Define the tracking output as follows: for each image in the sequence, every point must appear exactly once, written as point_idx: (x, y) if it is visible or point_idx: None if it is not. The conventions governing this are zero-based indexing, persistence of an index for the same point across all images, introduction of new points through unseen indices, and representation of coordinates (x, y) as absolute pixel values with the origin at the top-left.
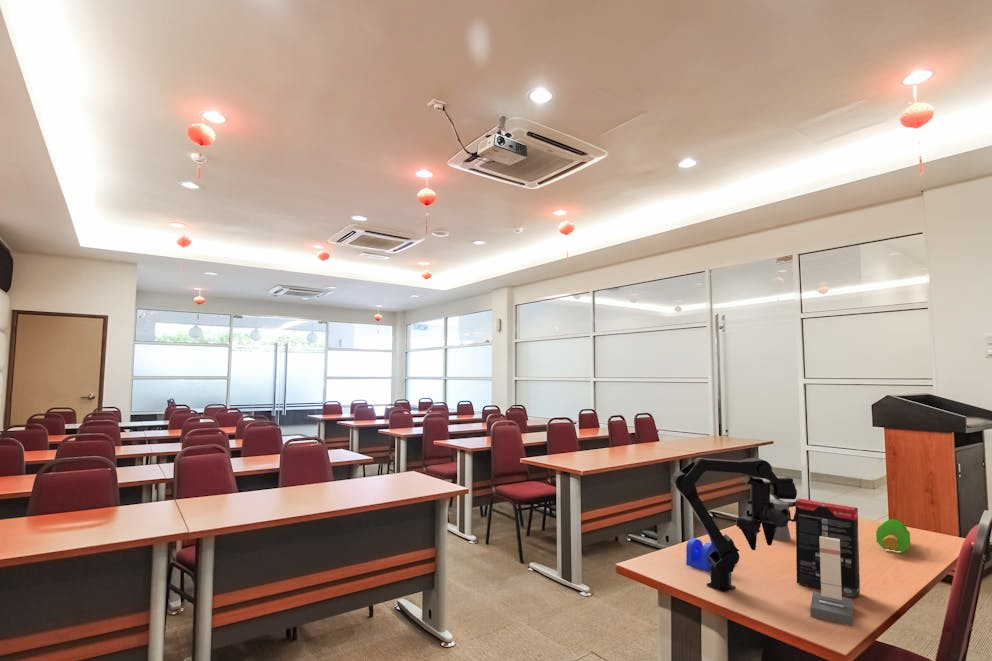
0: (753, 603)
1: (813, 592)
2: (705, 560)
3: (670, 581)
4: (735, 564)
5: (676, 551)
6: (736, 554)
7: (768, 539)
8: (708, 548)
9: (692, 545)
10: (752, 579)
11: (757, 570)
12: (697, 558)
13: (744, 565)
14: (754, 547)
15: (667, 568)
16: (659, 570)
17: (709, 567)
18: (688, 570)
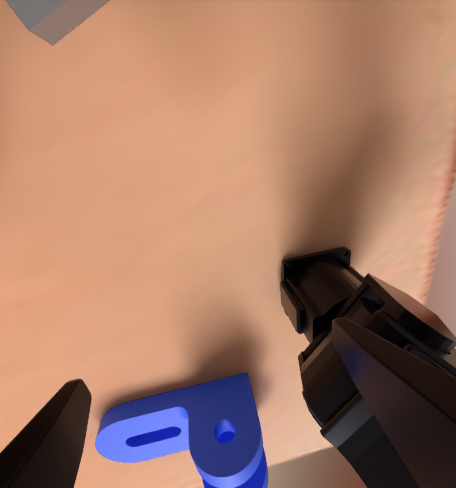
0: (347, 140)
1: (42, 13)
2: (255, 407)
3: None
4: (360, 297)
5: None
6: (408, 328)
7: (63, 450)
8: (253, 453)
9: (262, 478)
10: (153, 303)
11: (64, 356)
12: (228, 431)
13: None
14: (368, 330)
15: None
16: None
17: (236, 385)
18: (285, 386)
